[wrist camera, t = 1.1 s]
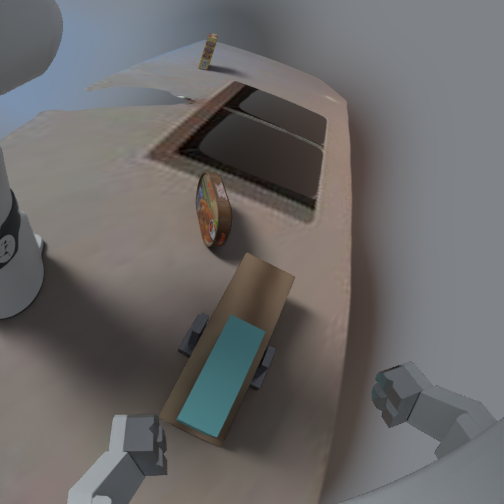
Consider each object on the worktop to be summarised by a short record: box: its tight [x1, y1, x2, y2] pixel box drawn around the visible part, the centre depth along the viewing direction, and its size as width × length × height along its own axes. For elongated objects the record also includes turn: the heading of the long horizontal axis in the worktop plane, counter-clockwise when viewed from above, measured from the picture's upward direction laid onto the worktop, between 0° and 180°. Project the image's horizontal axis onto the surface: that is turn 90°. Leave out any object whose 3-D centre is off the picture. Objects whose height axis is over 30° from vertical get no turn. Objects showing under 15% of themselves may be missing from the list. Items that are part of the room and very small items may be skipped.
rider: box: [176, 315, 266, 437], centre depth 32 cm, size 4×12×8 cm, turn 159°
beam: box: [158, 252, 295, 447], centre depth 39 cm, size 8×26×2 cm, turn 159°
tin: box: [196, 172, 232, 247], centre depth 54 cm, size 15×3×8 cm, turn 15°
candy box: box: [199, 34, 218, 70], centre depth 111 cm, size 9×4×15 cm, turn 4°
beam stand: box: [178, 312, 276, 390], centre depth 44 cm, size 12×16×5 cm
